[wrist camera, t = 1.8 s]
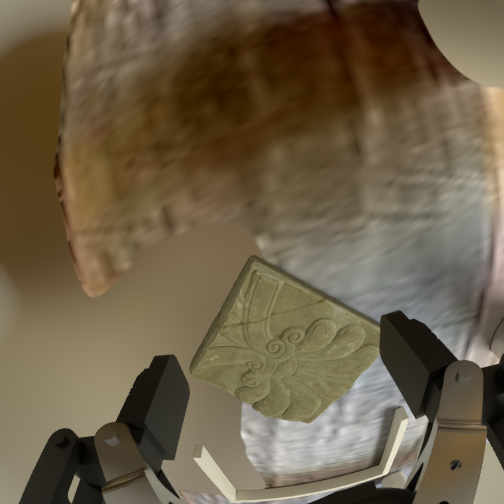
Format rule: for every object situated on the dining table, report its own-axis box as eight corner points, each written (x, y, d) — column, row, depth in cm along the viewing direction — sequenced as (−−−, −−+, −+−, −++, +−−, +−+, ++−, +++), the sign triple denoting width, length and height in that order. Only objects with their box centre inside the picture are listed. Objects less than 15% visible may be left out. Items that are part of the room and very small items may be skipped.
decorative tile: (252, 250, 29) (252, 261, 25) (386, 324, 31) (398, 339, 28) (182, 367, 33) (177, 385, 30) (305, 414, 36) (308, 430, 33)
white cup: (382, 475, 46) (391, 503, 36) (408, 466, 45) (418, 492, 36) (376, 485, 48) (384, 511, 38) (401, 477, 47) (410, 501, 38)
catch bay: (403, 406, 36) (409, 417, 33) (384, 465, 43) (387, 474, 40) (195, 445, 38) (192, 457, 35) (232, 492, 45) (231, 502, 43)
